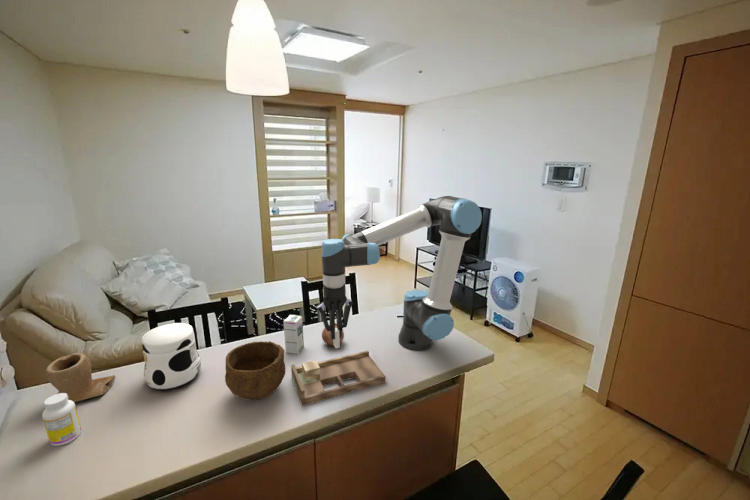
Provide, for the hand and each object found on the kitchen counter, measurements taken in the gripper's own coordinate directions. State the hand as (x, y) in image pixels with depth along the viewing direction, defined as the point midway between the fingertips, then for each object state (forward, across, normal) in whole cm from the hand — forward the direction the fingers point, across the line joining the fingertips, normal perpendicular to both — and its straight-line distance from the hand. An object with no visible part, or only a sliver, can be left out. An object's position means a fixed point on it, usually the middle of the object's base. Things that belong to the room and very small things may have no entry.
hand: (336, 346), depth 121 cm
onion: (+12, -5, -21) cm, 25 cm away
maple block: (+9, +10, 0) cm, 13 cm away
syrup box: (+12, +11, -23) cm, 28 cm away
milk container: (+11, +54, -21) cm, 59 cm away
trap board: (+12, +1, +2) cm, 12 cm away
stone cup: (+10, +80, -22) cm, 83 cm away
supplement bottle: (+10, +79, -3) cm, 80 cm away
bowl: (+11, +28, -1) cm, 30 cm away
